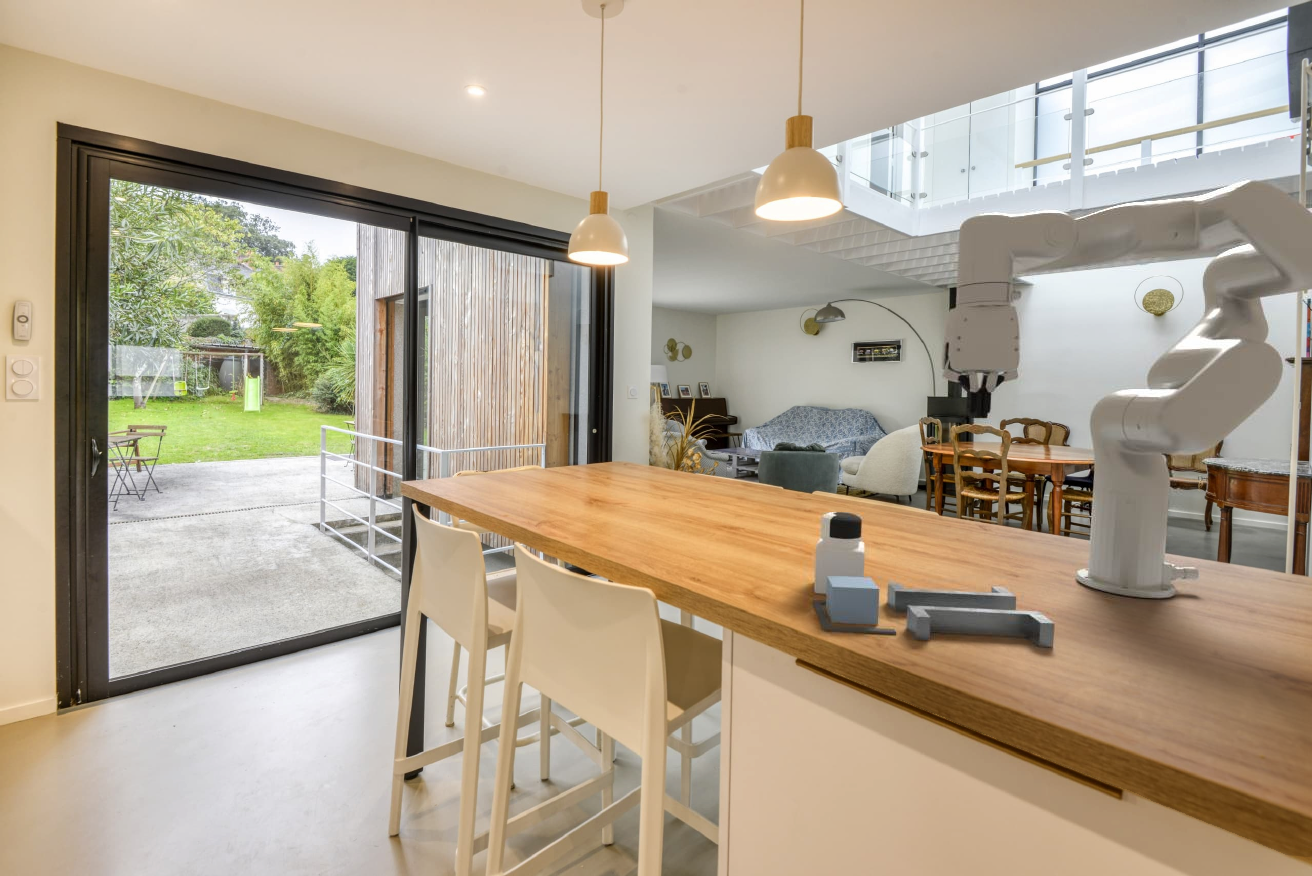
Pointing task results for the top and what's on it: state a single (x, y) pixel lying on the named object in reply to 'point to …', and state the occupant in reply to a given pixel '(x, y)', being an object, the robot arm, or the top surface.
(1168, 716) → the top surface
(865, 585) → the block
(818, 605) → the bay
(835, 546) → the medicine bottle
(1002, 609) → the grey stepped fixture
